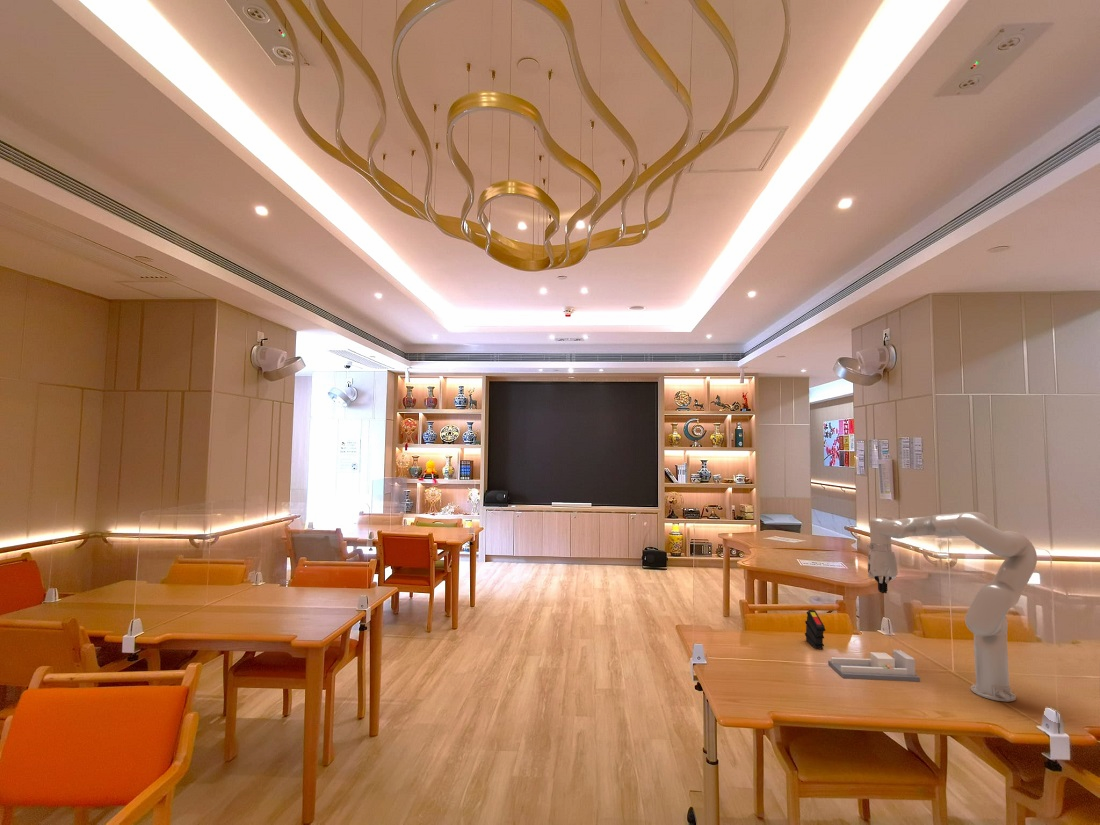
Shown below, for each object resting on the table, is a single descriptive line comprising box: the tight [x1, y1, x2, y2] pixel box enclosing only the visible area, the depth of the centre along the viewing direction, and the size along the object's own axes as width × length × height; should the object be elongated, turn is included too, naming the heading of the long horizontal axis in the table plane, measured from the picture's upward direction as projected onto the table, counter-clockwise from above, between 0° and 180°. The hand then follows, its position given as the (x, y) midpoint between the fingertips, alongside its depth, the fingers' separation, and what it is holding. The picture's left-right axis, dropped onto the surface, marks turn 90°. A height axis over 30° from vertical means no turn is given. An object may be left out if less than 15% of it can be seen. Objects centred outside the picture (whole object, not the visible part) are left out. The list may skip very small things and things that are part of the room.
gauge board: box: [827, 649, 921, 682], centre depth 216 cm, size 14×28×8 cm, turn 84°
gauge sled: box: [869, 651, 895, 668], centre depth 216 cm, size 11×6×5 cm, turn 174°
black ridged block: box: [804, 609, 826, 650], centre depth 247 cm, size 4×13×15 cm, turn 177°
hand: (882, 592), depth 227 cm, fingers closed
